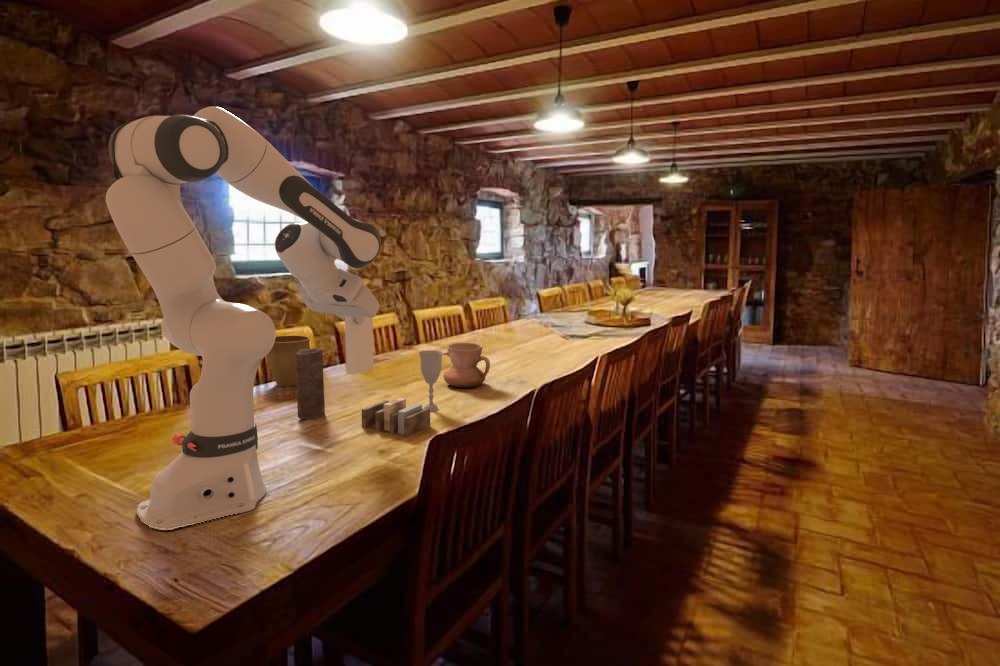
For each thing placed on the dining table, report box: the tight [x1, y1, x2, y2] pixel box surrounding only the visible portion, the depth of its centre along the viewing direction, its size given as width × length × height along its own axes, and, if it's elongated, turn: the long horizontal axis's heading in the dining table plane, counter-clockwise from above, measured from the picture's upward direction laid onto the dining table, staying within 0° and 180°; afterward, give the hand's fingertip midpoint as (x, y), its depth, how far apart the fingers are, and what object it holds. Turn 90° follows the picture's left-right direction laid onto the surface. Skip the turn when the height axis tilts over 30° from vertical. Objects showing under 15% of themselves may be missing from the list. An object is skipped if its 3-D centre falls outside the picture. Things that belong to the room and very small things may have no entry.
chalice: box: [418, 349, 444, 412], centre depth 174 cm, size 7×7×18 cm
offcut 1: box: [384, 397, 407, 431], centre depth 158 cm, size 7×2×7 cm, turn 153°
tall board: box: [344, 315, 374, 376], centre depth 149 cm, size 8×2×16 cm, turn 153°
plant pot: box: [265, 335, 311, 388], centre depth 202 cm, size 15×15×16 cm
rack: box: [361, 399, 431, 438], centre depth 158 cm, size 10×15×6 cm, turn 63°
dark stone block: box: [296, 348, 326, 420], centre depth 165 cm, size 8×7×20 cm
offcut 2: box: [398, 403, 423, 435], centre depth 156 cm, size 8×2×6 cm, turn 153°
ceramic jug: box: [442, 342, 491, 389], centre depth 206 cm, size 18×14×14 cm
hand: (355, 321), depth 147 cm, fingers closed on tall board, 2 cm apart
